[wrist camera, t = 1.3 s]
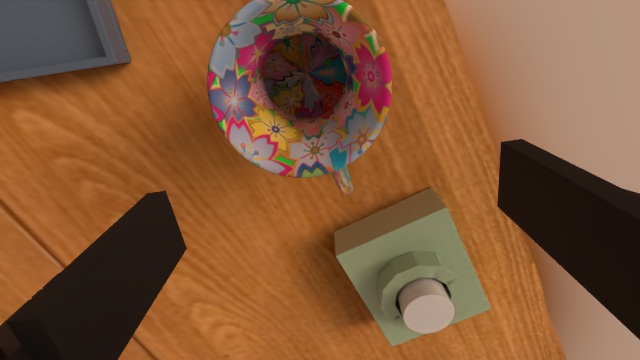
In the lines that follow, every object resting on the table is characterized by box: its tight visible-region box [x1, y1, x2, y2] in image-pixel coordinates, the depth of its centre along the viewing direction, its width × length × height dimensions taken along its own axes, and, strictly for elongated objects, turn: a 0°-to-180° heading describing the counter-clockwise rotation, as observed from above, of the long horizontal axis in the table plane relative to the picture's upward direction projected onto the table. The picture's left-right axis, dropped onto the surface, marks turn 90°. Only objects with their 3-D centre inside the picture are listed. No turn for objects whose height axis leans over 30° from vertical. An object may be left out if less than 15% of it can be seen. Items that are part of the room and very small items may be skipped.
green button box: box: [334, 187, 491, 347], centre depth 31 cm, size 12×10×6 cm
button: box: [398, 278, 454, 334], centre depth 28 cm, size 4×4×2 cm
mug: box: [207, 0, 392, 195], centre depth 22 cm, size 12×9×11 cm
